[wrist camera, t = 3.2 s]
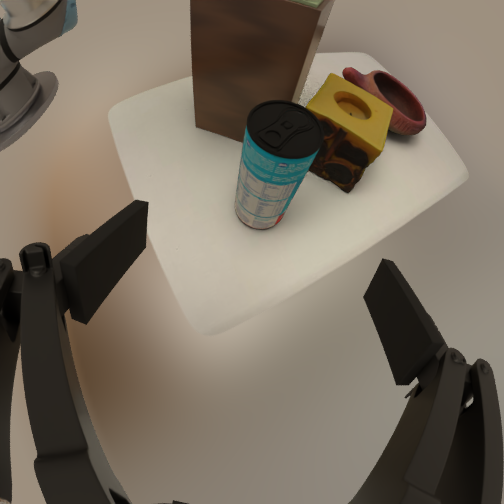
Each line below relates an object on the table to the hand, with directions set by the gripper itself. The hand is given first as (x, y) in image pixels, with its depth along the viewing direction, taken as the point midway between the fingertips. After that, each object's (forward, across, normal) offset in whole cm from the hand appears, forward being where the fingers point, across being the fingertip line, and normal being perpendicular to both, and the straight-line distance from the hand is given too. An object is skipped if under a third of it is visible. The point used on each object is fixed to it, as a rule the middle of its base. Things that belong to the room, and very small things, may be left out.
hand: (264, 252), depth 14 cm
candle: (+27, +8, +4) cm, 29 cm away
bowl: (+36, +17, +13) cm, 42 cm away
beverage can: (+19, 0, -4) cm, 20 cm away
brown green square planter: (+29, -5, +6) cm, 30 cm away
